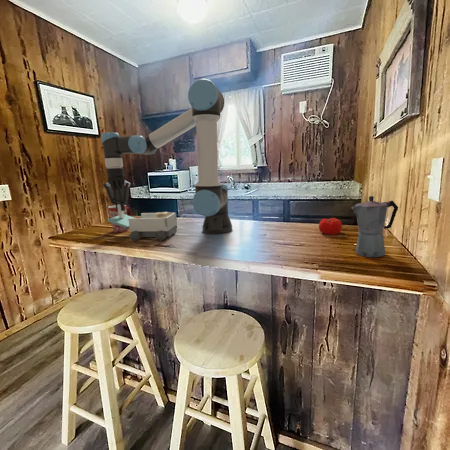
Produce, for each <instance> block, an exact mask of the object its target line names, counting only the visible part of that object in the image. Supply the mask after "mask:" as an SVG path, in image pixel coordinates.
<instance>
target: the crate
mask: <svg viewBox="0 0 450 450" xmlns="http://www.w3.org/2000/svg"><path fill="white" fill-rule="evenodd" d="M155 213H156V218H166V217H167V216H168V213H169V211H161V212H160V211H158V212H155Z"/></svg>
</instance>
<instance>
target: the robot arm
mask: <svg viewBox="0 0 450 450" xmlns="http://www.w3.org/2000/svg"><path fill="white" fill-rule="evenodd" d="M187 100H188V102H189V105H190V106H191V108H189V109H188V110H186V111H184V112H183V113H181V114H179V115H178V116H176V117H175V118H173V119H171V120H170V121H169V122H167V123H165V124H163V125H162V126H161V127H159V128H157V129H155V130H154V131H152V132H151V133H149V134H148V135H146V136H143V135H141V134H140V135H136V134H134V135H128V136H127V135H126V136H120V134H119V133H118V132H115V131H114V132H113V131H110V132H106V131H105V132H103V133H102V134H101V145H102V150H103V157H104V164H105V168H106V169H105V170H106V176H107V182H105V183H103V184H102V185H103V187H104V188H105V190H106V192H107V195H108V198H109V200H110V203H111V204H113V205H116V210H117V211H118V213H119V218H123V217H124V211H125V205H126V204H127V203H128V202H129V194H130V187H131V185H132V183H131V182H129V181H127V179H126V178H125V169H124V168H123V167H124V162H123V155H126V154H127V155H130V154H133V155H134V154H135V155H145V156H150V155H153V154H155V153H156V152H157V150H158V149H160V148H161V147H163V146H164V145H166V144H168V143H170V142H171V141H173V140H174V139H176V138H178V137H179V136H181V135H182V134H185V133H186V132H188V131H189V130H191V129H193V128H195V127H196V152H197V153H196V154H197V176H198V177H197V178H198V179H197V180H198V181H197V182H196V183H195V185H194V195H193V197H192V207H193V208H194V211H195V212H196V213H197V214H198V215H199V216H203V217H204V220H203V223H202V225H201V227H202V232H203V233H206V234H212V235H213V234H225V233H229V232H232V231H233V224H232V221H231V218H230V216H229V198H228V197H229V196H228V194H229V193H228V192H229V191H228V186H227V184H225V183H223V184H222V183H221V182H220V181H219V168H218V167H219V163H218V162H219V161H218V160H219V159H218V158H219V157H218V155H219V154H218V153H219V152H218V121H220V119H221V113H222V112H223V110H224V108H225V98H224V95H223V93H222V92H221V91H220V90H219V88H218V86H217V85H216V84H215V82H212V80H210V79H208V78H201V79H200V78H199V79H197V80H195V81H194V82H193V83H192V84H191V85H190V87H189V88H188V92H187Z"/></svg>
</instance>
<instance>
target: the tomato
mask: <svg viewBox="0 0 450 450" xmlns="http://www.w3.org/2000/svg"><path fill="white" fill-rule="evenodd" d="M318 229H319V232H321V233H322V234H324V235H329V236H333V235H337V234H339V233H340V232H342V229H343V223H342V221H341V220H340V219H338V218H336V217H331V218H330V217H329V218H322V219H320V221H319V223H318Z"/></svg>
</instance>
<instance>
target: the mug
mask: <svg viewBox="0 0 450 450" xmlns="http://www.w3.org/2000/svg"><path fill="white" fill-rule="evenodd" d="M124 205H125V211H124V214H125V215H128V216H131V217H132V210H131V208H130V207H128V206H127V204H124ZM107 209H108V211H109V217H110V218H113V217H116V216H118V215H119V213H118V211H117V210H116V205H115V204H113V205H109V206H108V207H107ZM127 212H128V213H127ZM110 218H109V219H110ZM111 226H112V232H113V233H124V232H127V231H128V230H129V228H128V229H125V227H122V226H119V225H117V224H114V223H111Z"/></svg>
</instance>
